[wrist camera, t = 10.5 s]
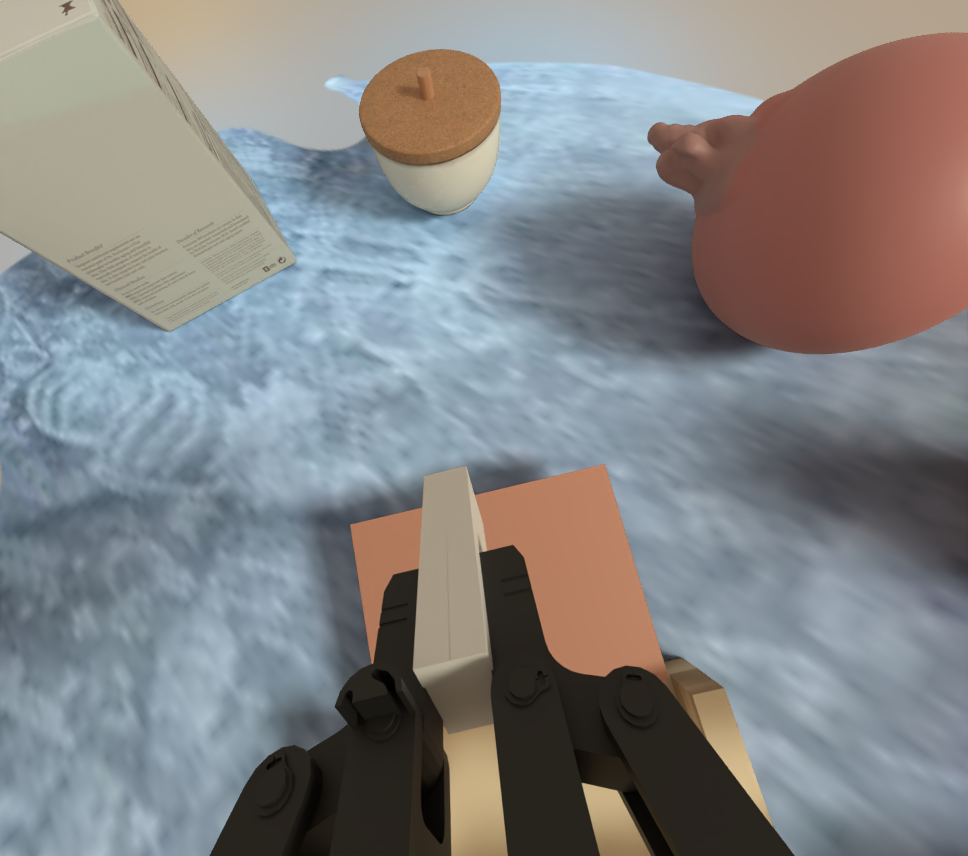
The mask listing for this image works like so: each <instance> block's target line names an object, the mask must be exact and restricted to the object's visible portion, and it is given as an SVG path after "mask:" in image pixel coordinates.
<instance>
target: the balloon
mask: <svg viewBox="0 0 968 856" xmlns="http://www.w3.org/2000/svg"><path fill="white" fill-rule="evenodd" d="M647 139H648V142H649V143H650V144H651V145H653V147H654V149H656V150H657V151H658V152H659V153H661V155H660V156H659V158H658V160H657V163H656V169H657V172H658V175H659V176H660V178H661V179H662V180H663V181H665V182H666V183H668V184H669V185H672V186H674V187H676V188H679V189H682V190H684V191H686V192H688V193H690V194H691V195H692V196H693V198H694V208H695V213H696V219H695V223H694V228H693V235H692V249H691V252H692V265H693V271H694V275H695V279H696V282H697V285H698V288H699V290H700V293H701V295H702V297H703V298H704V300H705V302H706V303H707V305H708V306H709V308H710V309H711V310H712V312H713V313H714V314H715V315H716V316H717V317H718V318H719V319H720V320H721V321H722V322H723V323H724V324H725V325H726V326H728V327H729V328H730V329H732V330H733V331H734V332H736V333H737V334H739V335H741V336H743V337H744V338H746V339H748V340H751V341H753V342H755V343H758V344H760V345H763V346H766V347H769V348H773V349H777V350H782V351H787V352H794V353H803V354H834V353H845V352H852V351H858V350H864V349H869V348H873V347H877V346H881V345H885V344H888V343H892V342H895V341H898V340H901V339H904V338H907V337H910V336H912V335H915V334H917V333H920V332H922V331H924V330H927V329H929V328H931V327H933V326H935V325H937V324H939V323H941V322H943V321H945V320H947V319H949V318H951V317H953V316H954V315H956V314H958V313H960V312H961V311H963V310H965V309H966V308H968V33H938V34H930V35H923V36H916V37H911V38H906V39H902V40H897V41H894V42H890V43H886V44H883V45H880V46H877V47H874V48H871V49H869V50H866V51H863V52H860V53H858V54H855V55H853V56H851V57H848V58H846V59H844V60H842V61H840V62H838V63H836V64H834V65H832V66H830V67H828V68H826V69H824V70H822V71H821V72H819V73H817V74H816V75H814V76H812V77H811V78H809V79H807V80H806V81H804V82H803V83H801V84H800V85H798V86H797V87H795V88H794V89H792V90H789V91H786V92H783V93H780V94H777V95H775V96H773V97H771V98H769V99H767V100H766V101H764V102H763V103H762V104H761V105H760V106H759V107H757V109H756V110H755V111H754V112H753V113H752V114H751V115H750V116H749V117H748V116H742V115H731V116H727V117H723V118H720V119H713V120H709V121H706V122H703V123H701V124H699V125H696V126H693V125H679V124H672V125H666V124H665V123H662V122H659V123H656V124H655V125H653V126H652V127H651V128H650V130H649V132H648V137H647Z"/></svg>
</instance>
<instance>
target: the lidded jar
mask: <svg viewBox="0 0 968 856" xmlns="http://www.w3.org/2000/svg"><path fill="white" fill-rule="evenodd" d="M500 109H501V92H500V85H499V82H498V80H497V77H496V76H495V74H494V73H493V71H492V70H491V69H490V68H489V67H488V66H487V64H486V63H484V62H483V61H481V60H480V59H478V58H476V57H474V56H472V55H470V54H467V53H464V52H460V51H454V50H444V49H440V50H439V49H438V50H427V51H422V52H418V53H414V54H410V55H407V56H405V57H403V58H400V59H398V60H396V61H394V62H393V63H391V64H389V65H388V66H386V67H385V68H384V69H382V70H381V71H380V72H379V73H378V74H376V75H375V77H374V78H373V79H372V80H371V81H370V82H369V84H368V85H367V87H366V89H365V90H364V93H363V95H362V98H361V102H360V106H359V117H360V122H361V125H362V128H363V131H364V133H365V135H366V137H367V139H368V141H369V143H370V145H371V147H372V150H373V152H374V155H375V157H376V159H377V161H378V163H379V165H380V167H381V169H382V171H383V173H384V175H385V177H386V178H387V180H388V181H389V182H390V184H391V185H392V187H393V188H394V189H395V190H396V191H397V192H398V194H399V195H400V196H402V197H403V198H404V199H405V200H406V201H408V202H409V203H411V204H412V205H414V206H416V207H418V208H421V209H423V210H425V211H427V212H429V213H432V214H436V215H451V214H455V213H458V212H460V211H462V210H464V209H466V208H467V207H469V206H470V205H471V204H472V203H473V202H474V200H475V199H476V198H477V197H478V196H479V195H480V194H481V193H482V192H483V190H484V189H485V187H486V186H487V184H488V183H489V181H490V179H491V177H492V175H493V172H494V169H495V166H496V162H497V157H498V152H499V142H500Z"/></svg>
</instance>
